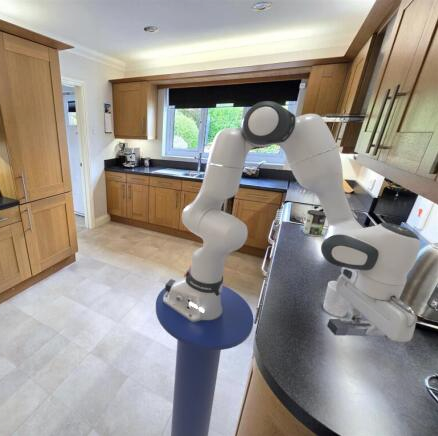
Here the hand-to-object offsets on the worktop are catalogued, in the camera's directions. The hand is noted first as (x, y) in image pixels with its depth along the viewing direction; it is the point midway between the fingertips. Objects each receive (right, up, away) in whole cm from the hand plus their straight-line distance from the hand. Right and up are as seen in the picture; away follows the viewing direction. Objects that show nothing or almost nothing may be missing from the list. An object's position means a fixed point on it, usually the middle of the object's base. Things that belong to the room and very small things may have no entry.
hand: (361, 326), depth 67 cm
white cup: (+8, -3, +21) cm, 22 cm away
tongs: (0, -2, +1) cm, 2 cm away
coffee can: (+46, +21, +88) cm, 101 cm away
